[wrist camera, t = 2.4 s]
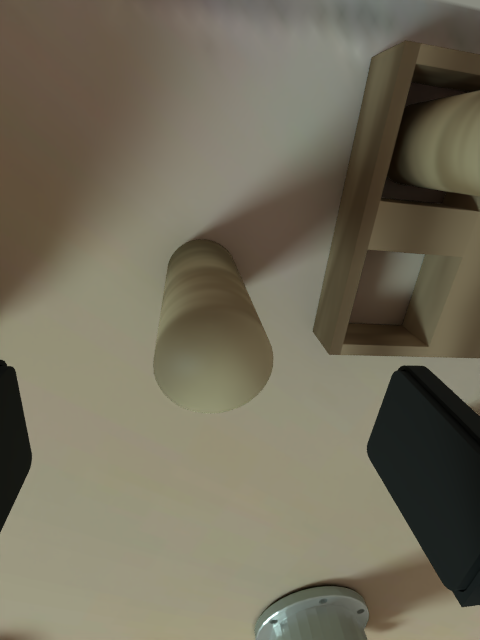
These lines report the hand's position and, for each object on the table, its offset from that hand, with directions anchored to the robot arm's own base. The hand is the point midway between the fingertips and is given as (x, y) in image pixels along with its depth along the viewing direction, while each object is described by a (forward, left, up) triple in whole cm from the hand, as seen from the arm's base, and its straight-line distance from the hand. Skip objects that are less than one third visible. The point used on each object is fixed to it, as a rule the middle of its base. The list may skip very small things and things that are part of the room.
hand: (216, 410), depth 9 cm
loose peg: (0, 0, -13) cm, 13 cm away
